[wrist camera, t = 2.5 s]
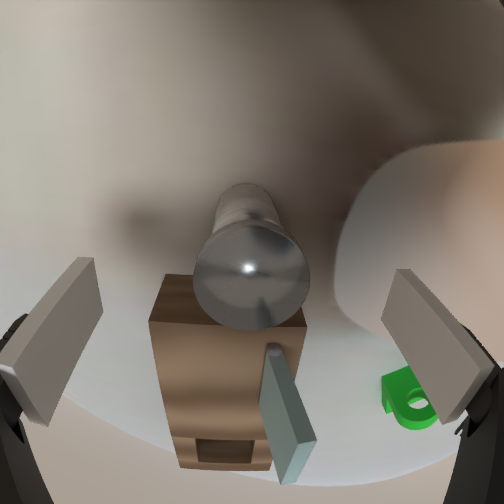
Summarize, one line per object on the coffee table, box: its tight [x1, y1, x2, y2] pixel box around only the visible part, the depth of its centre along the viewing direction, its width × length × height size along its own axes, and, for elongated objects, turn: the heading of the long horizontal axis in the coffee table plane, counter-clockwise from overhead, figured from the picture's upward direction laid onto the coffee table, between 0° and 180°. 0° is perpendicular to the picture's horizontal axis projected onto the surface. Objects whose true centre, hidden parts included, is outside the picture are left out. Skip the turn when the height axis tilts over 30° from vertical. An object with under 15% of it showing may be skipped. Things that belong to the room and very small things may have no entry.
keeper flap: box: [258, 343, 317, 485], centre depth 17 cm, size 6×1×8 cm, turn 176°
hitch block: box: [148, 274, 307, 471], centre depth 26 cm, size 22×10×6 cm, turn 176°
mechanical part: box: [382, 366, 438, 430], centre depth 28 cm, size 12×6×8 cm, turn 108°
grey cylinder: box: [193, 183, 310, 331], centre depth 17 cm, size 5×5×10 cm
